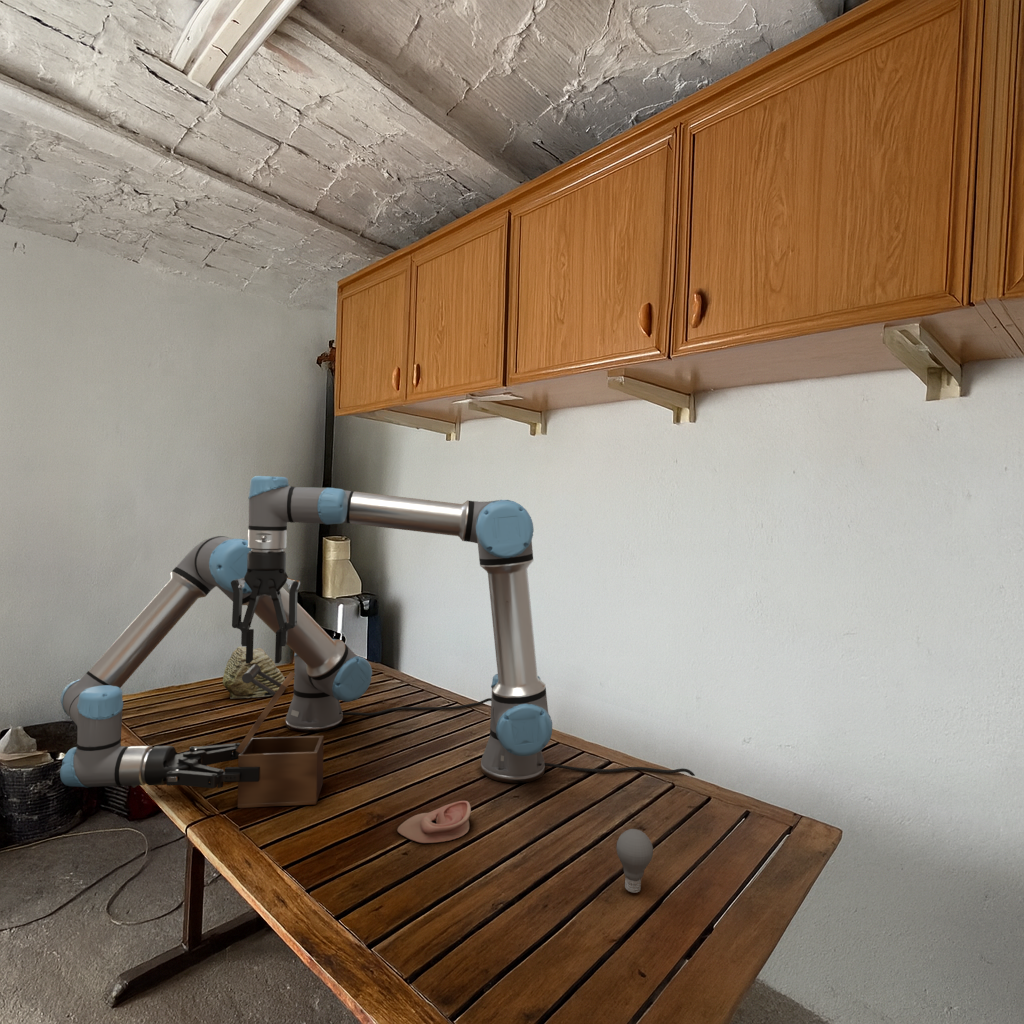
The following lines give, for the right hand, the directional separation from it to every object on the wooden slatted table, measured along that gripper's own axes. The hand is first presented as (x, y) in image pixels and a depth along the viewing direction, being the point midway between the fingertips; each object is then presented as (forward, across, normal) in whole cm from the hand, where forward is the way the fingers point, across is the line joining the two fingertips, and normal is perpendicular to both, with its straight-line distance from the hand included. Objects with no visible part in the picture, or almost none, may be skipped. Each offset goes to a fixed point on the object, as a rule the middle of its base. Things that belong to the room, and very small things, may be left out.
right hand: (263, 661), depth 132 cm
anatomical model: (+29, +36, -16) cm, 49 cm away
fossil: (+28, -18, +69) cm, 77 cm away
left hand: (+22, +1, 0) cm, 22 cm away
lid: (+11, +1, 0) cm, 11 cm away
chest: (+28, +4, 0) cm, 29 cm away
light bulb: (+29, +68, -38) cm, 83 cm away
